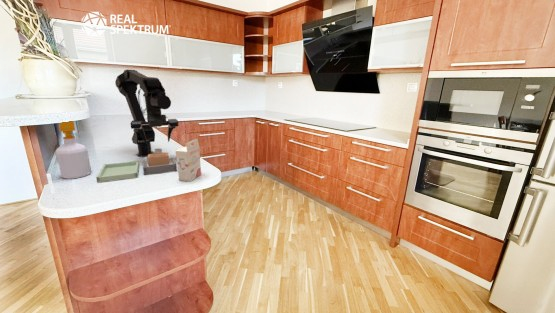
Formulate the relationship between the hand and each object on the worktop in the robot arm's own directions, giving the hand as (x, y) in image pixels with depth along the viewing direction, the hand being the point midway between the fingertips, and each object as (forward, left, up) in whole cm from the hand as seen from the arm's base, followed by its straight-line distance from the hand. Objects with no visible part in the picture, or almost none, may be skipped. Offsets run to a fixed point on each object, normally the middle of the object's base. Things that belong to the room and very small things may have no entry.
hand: (157, 142), depth 111 cm
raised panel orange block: (+5, 0, -9) cm, 10 cm away
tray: (+12, -15, -9) cm, 21 cm away
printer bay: (+14, 0, -9) cm, 16 cm away
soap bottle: (+8, -29, -9) cm, 31 cm away
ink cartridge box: (+27, +10, -9) cm, 30 cm away
